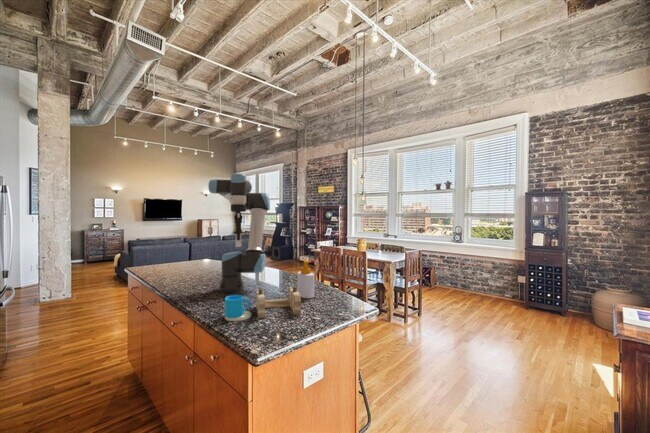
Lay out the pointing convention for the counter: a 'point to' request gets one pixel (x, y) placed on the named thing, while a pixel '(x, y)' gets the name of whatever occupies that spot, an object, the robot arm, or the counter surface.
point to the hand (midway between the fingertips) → (238, 245)
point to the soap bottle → (305, 282)
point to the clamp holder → (278, 302)
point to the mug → (235, 306)
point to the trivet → (245, 316)
